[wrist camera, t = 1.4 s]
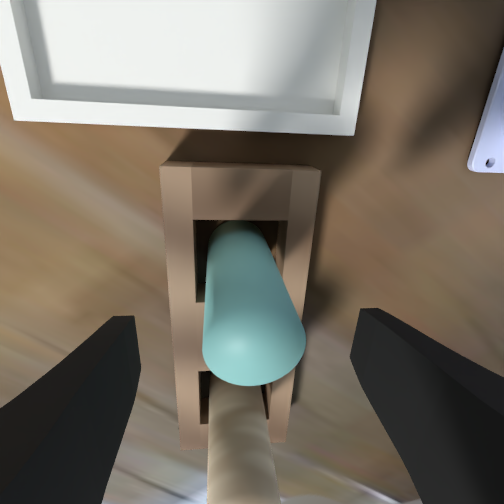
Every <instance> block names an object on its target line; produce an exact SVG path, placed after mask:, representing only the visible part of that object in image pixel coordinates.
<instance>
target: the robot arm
mask: <svg viewBox="0 0 504 504" xmlns="http://www.w3.org/2000/svg"><path fill="white" fill-rule="evenodd" d="M488 159H489V162H488V164H487V165H486V161H487V160H488ZM467 166H468V169H469V170H471V171H475V172H494V173H504V49H503V52H502V55H501V58H500V61H499V64H498V67H497V71H496V74H495V77H494V80H493V83H492V86H491V90H490V93H489V96H488V99H487V102H486V105H485V108H484V112H483V115H482V118H481V121H480V124H479V127H478V131H477V134H476V137H475V140H474V143H473V146H472V149H471V153H470V156H469V159H468V163H467ZM350 359H351V362H352V364H353V367H354V370H355V372H356V375H357V377H358V379H359V382H360V384H361V386H362V388H363V390H364V392H365V394H366V396H367V398H368V399H369V401H370V403H371V405H372V407H373V408H374V410H375V412H376V414H377V416H378V417H379V419H380V421H381V423H382V425H383V426H384V428H385V430H386V432H387V433H388V435H389V437H390V439H391V441H392V442H393V444H394V446H395V448H396V449H397V451H398V453H399V455H400V457H401V459H402V461H403V462H404V464H405V466H406V468H407V470H408V472H409V474H410V476H411V479H412V481H413V483H414V485H415V487H416V490H417V492H418V494H419V496H420V498H421V501H422V503H423V504H504V377H502V376H500V375H498V374H496V373H494V372H492V371H490V370H488V369H486V368H484V367H482V366H480V365H478V364H476V363H475V362H473V361H471V360H469V359H467V358H465V357H463V356H461V355H460V354H458V353H456V352H454V351H453V350H451V349H449V348H447V347H445V346H444V345H442V344H440V343H438V342H437V341H435V340H433V339H432V338H430V337H428V336H426V335H425V334H423V333H421V332H420V331H418V330H416V329H415V328H413V327H411V326H410V325H408V324H406V323H404V322H403V321H401V320H399V319H398V318H396V317H394V316H392V315H390V314H389V313H387V312H385V311H383V310H381V309H379V308H363V309H360V313H359V317H358V322H357V326H356V331H355V335H354V340H353V344H352V349H351V353H350ZM140 372H141V363H140V355H139V348H138V340H137V332H136V325H135V317H134V316H113V317H112V318H110V319H109V320H108V321H107V322H106V323H105V324H103V325H102V326H101V327H100V328H99V329H98V330H97V331H96V332H94V333H93V334H92V335H91V336H90V337H89V338H88V339H87V340H85V341H84V342H83V343H82V344H81V345H80V346H79V347H77V348H76V349H75V350H74V351H73V352H72V353H70V354H69V355H68V356H67V357H66V358H65V359H63V360H62V361H61V362H60V363H59V364H57V365H56V366H55V367H54V368H52V369H51V370H50V371H49V372H47V373H46V374H45V375H44V376H42V377H41V378H40V379H39V380H37V381H36V382H35V383H33V384H32V385H31V386H30V387H28V388H27V389H26V390H25V391H23V392H22V393H21V394H19V395H18V396H17V397H15V398H14V399H13V400H11V401H10V402H9V403H7V404H6V405H4V406H3V407H2V408H0V504H101V503H102V500H103V496H104V493H105V489H106V486H107V483H108V480H109V477H110V474H111V471H112V468H113V465H114V462H115V459H116V456H117V453H118V450H119V447H120V444H121V441H122V438H123V435H124V432H125V429H126V426H127V423H128V419H129V416H130V413H131V410H132V407H133V404H134V401H135V396H136V392H137V387H138V382H139V377H140Z"/></svg>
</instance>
